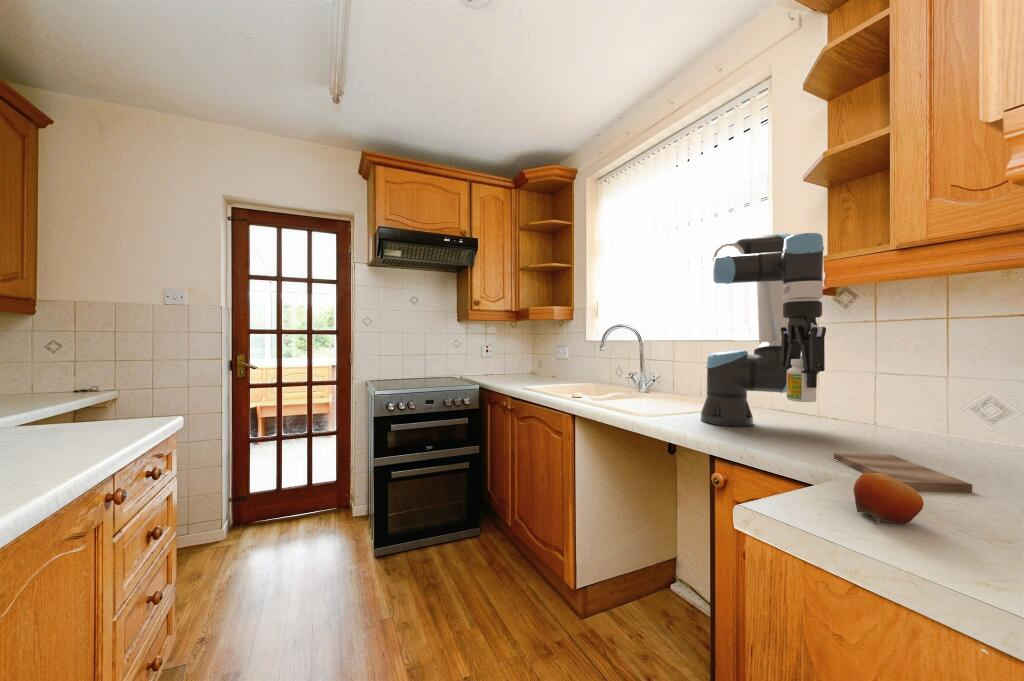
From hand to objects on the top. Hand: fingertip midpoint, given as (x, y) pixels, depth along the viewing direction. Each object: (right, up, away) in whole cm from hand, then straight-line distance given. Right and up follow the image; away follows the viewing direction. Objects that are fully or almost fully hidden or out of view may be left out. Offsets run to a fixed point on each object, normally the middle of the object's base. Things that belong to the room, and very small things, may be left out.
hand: (800, 399), depth 95 cm
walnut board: (+11, -14, -12) cm, 21 cm away
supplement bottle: (0, -1, 0) cm, 1 cm away
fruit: (-10, -14, -32) cm, 36 cm away
